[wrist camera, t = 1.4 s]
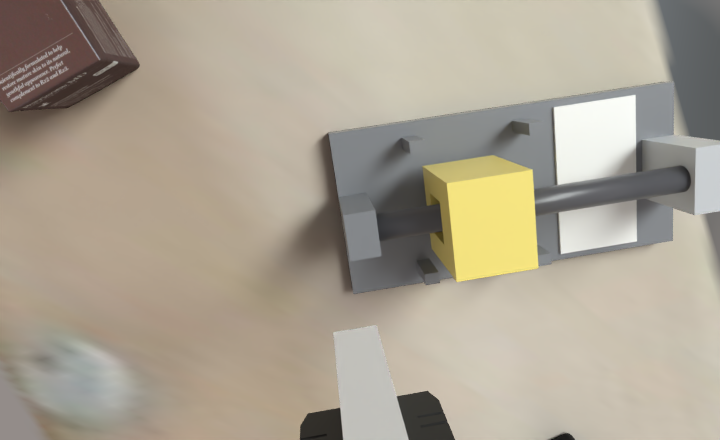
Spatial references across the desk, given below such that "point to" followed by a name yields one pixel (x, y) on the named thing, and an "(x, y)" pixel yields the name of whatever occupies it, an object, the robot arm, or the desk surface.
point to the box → (58, 53)
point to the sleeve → (483, 216)
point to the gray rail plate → (550, 178)
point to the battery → (565, 437)
